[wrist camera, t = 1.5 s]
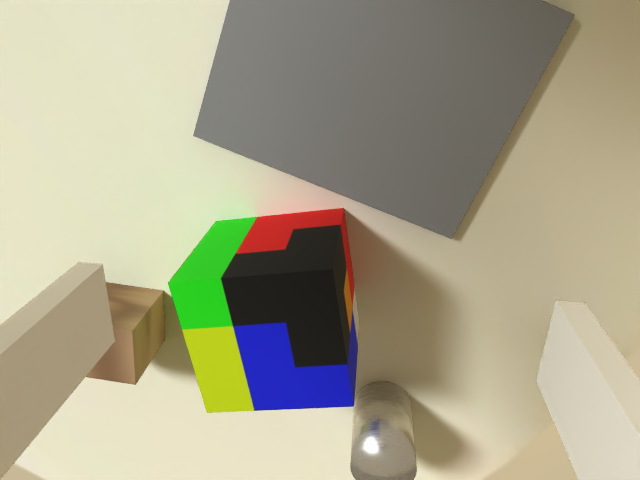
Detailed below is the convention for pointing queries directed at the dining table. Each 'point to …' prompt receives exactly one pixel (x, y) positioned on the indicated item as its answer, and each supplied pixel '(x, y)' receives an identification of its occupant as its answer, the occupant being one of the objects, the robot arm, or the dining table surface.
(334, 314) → the puzzle toy
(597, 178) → the dining table surface
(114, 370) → the walnut block
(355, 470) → the grey metal cylinder
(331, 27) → the charcoal mat
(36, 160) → the dining table surface
